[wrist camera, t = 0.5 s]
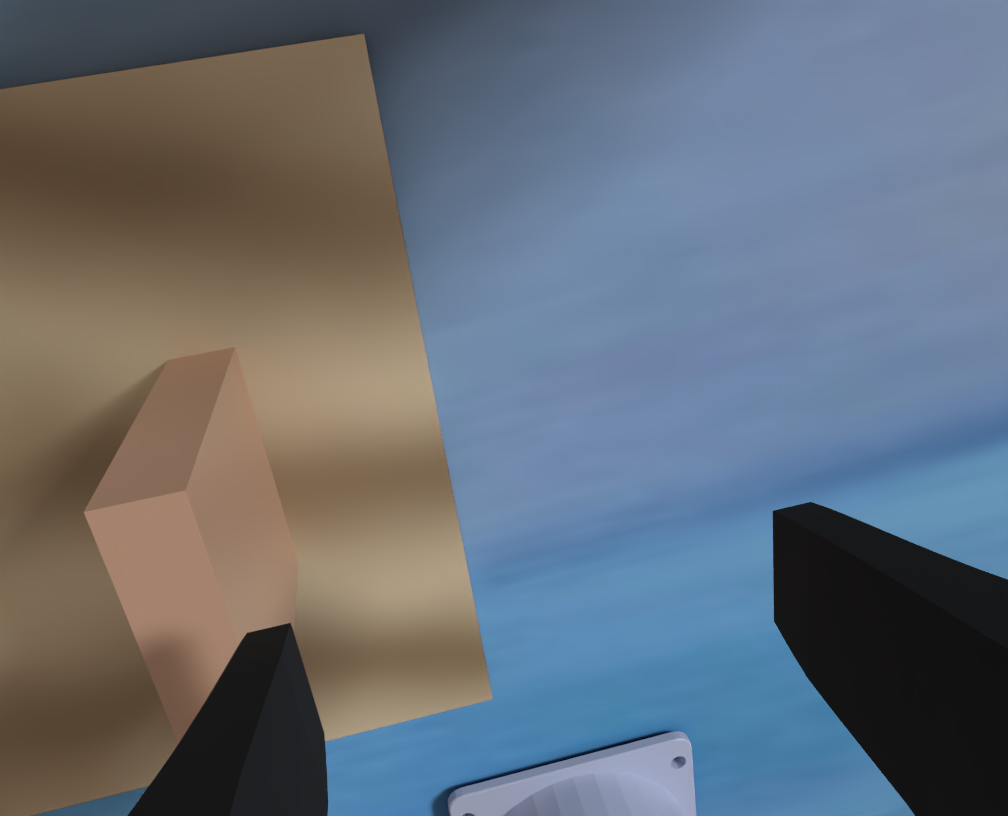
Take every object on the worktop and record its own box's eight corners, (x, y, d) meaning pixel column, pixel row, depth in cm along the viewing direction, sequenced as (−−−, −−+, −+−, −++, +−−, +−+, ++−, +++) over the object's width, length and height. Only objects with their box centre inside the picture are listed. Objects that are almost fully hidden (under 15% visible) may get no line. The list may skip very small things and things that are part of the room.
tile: (298, 563, 21) (284, 775, 15) (235, 577, 21) (194, 798, 15) (235, 346, 19) (185, 490, 12) (163, 360, 19) (76, 513, 12)
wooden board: (489, 685, 25) (492, 699, 24) (-34, 815, 23) (-43, 834, 22) (363, 34, 17) (364, 33, 17) (-418, 154, 16) (-445, 157, 15)
